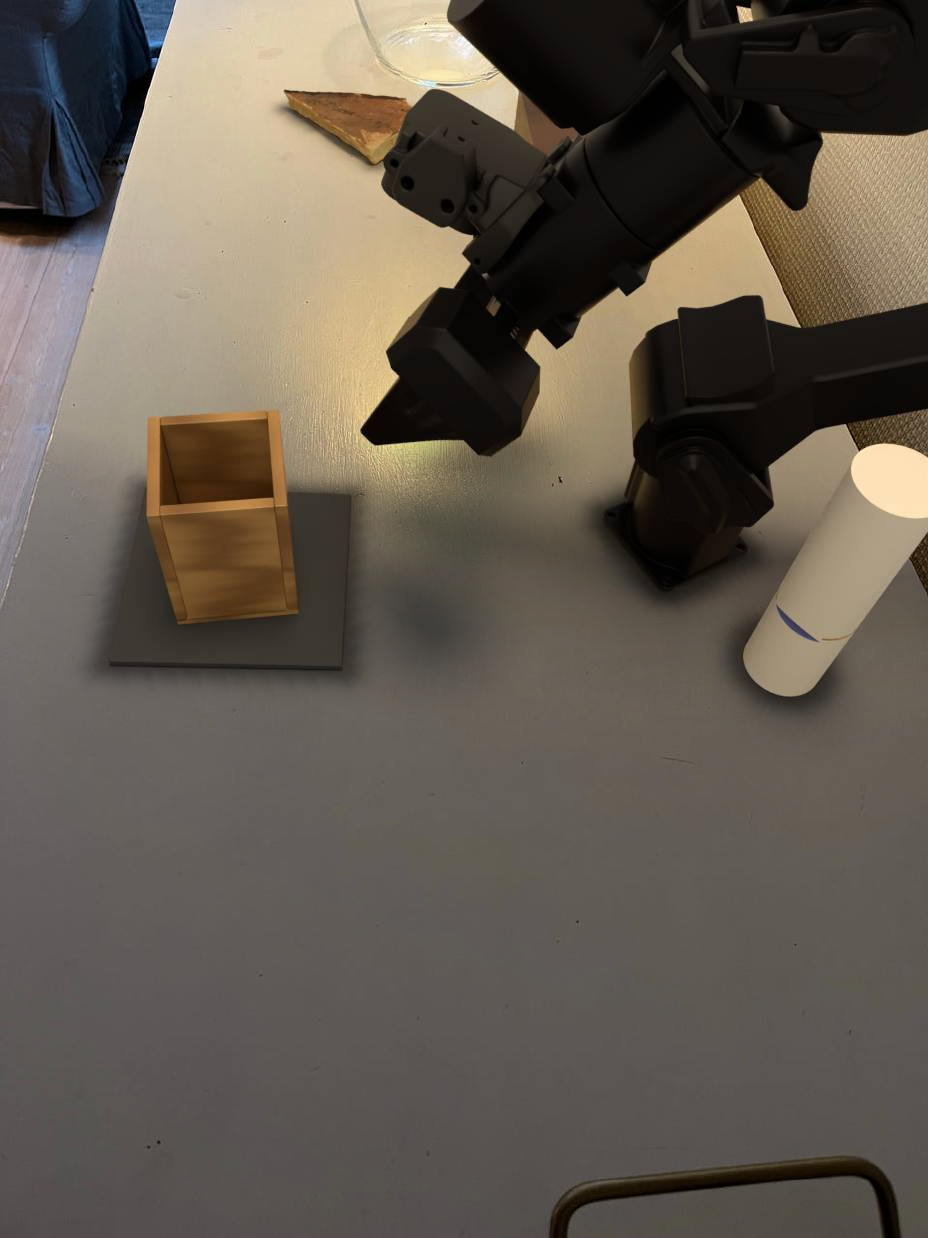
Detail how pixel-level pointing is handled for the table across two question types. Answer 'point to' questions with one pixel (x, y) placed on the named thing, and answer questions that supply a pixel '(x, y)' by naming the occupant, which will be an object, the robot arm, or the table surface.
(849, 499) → the tube
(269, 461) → the open wooden box
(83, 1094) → the table surface
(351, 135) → the pie slice
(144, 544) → the mat
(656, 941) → the table surface
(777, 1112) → the table surface
